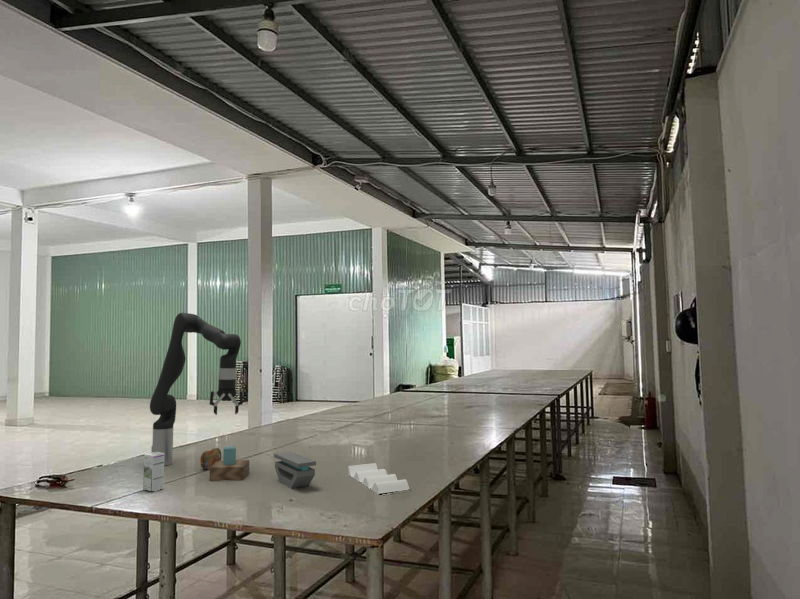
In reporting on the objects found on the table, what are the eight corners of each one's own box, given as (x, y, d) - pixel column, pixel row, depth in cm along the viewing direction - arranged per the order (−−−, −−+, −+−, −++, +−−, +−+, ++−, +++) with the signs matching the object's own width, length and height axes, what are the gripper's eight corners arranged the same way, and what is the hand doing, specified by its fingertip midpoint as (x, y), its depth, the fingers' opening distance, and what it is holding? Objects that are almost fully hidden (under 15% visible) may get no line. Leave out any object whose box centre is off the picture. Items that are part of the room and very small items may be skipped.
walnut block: (209, 482, 237) (209, 467, 238) (217, 474, 251) (217, 460, 252) (243, 481, 238) (243, 466, 239) (249, 473, 252) (249, 460, 253)
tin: (205, 471, 256) (205, 452, 256) (198, 471, 256) (199, 452, 257) (221, 464, 270) (222, 446, 271) (215, 464, 271) (216, 446, 272)
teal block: (223, 465, 242) (223, 448, 243) (223, 463, 247) (223, 446, 247) (235, 464, 244) (235, 448, 244) (235, 462, 248) (235, 446, 249)
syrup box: (164, 489, 225) (165, 452, 226) (151, 492, 219) (152, 455, 221) (155, 487, 227) (156, 451, 228) (142, 490, 222) (143, 453, 223)
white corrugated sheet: (380, 497, 213) (380, 484, 213) (348, 477, 244) (348, 465, 245) (410, 493, 218) (410, 480, 219) (376, 474, 250) (376, 463, 250)
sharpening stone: (273, 479, 240) (274, 453, 241) (290, 476, 244) (291, 451, 245) (297, 492, 219) (298, 463, 220) (316, 489, 224) (316, 461, 225)
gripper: (243, 377, 258) (242, 413, 257) (211, 377, 254) (209, 413, 253) (243, 378, 250) (242, 415, 249) (210, 378, 247) (208, 415, 246)
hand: (225, 414), depth 251 cm, fingers open, 8 cm apart
